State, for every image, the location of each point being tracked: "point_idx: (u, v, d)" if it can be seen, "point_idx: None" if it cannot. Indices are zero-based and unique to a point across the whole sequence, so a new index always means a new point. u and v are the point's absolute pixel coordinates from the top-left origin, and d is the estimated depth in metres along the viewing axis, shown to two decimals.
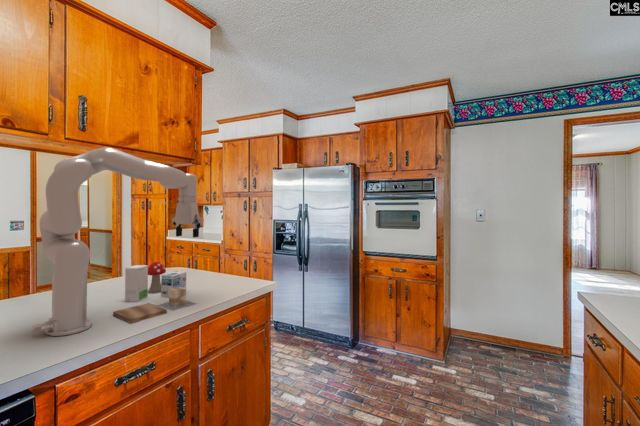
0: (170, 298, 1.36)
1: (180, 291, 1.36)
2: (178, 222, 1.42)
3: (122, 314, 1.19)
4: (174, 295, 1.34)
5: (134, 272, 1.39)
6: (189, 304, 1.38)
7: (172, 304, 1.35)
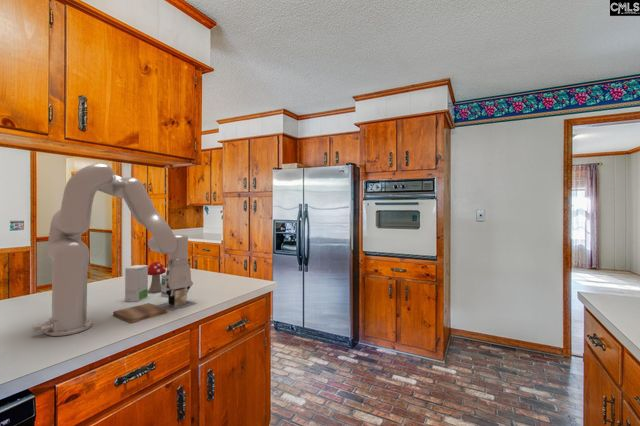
0: None
1: (180, 291, 1.36)
2: (175, 287, 1.33)
3: (122, 314, 1.19)
4: (174, 295, 1.34)
5: (133, 272, 1.39)
6: (189, 304, 1.38)
7: None
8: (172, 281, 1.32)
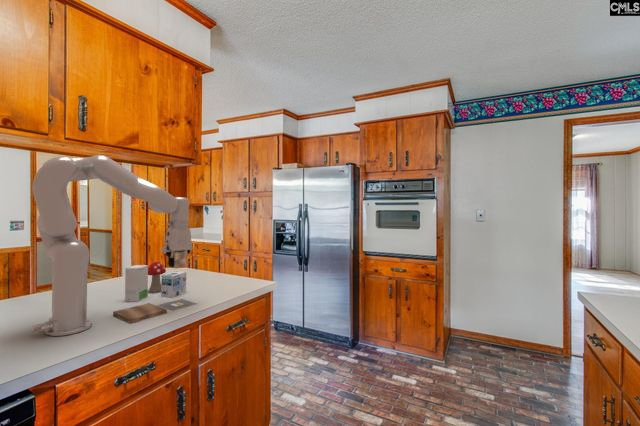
0: None
1: (180, 253, 1.35)
2: (175, 249, 1.33)
3: (122, 314, 1.19)
4: (174, 257, 1.34)
5: (134, 272, 1.39)
6: (189, 304, 1.38)
7: None
8: (172, 242, 1.32)
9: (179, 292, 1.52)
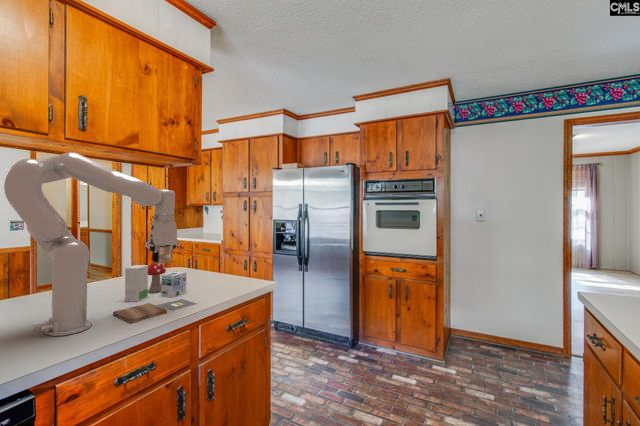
0: None
1: (165, 248, 1.29)
2: (160, 243, 1.27)
3: (122, 314, 1.19)
4: (158, 252, 1.28)
5: (134, 272, 1.39)
6: (189, 304, 1.38)
7: None
8: (156, 236, 1.26)
9: (179, 292, 1.52)
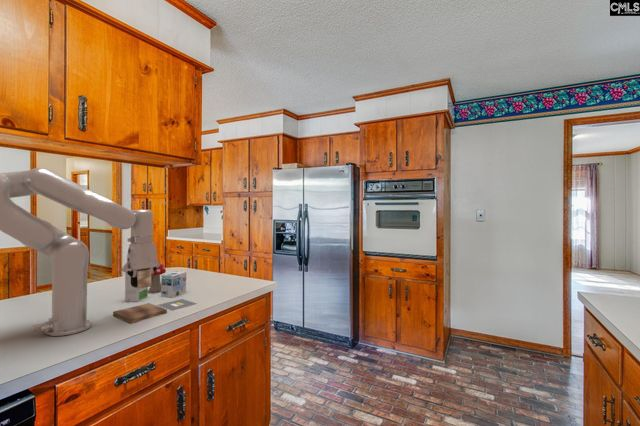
0: None
1: (144, 272, 1.22)
2: (138, 267, 1.20)
3: (122, 314, 1.19)
4: (137, 276, 1.21)
5: None
6: (189, 304, 1.38)
7: None
8: (134, 260, 1.19)
9: (179, 292, 1.52)
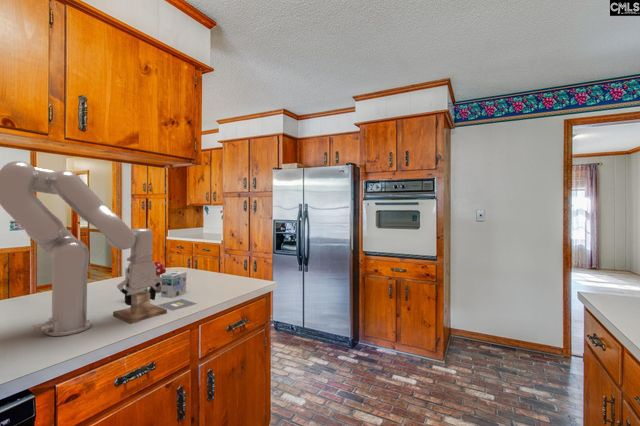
0: (132, 304, 1.22)
1: (143, 296, 1.22)
2: (137, 287, 1.20)
3: (122, 314, 1.19)
4: (136, 300, 1.21)
5: None
6: (189, 304, 1.38)
7: (134, 310, 1.22)
8: (133, 280, 1.19)
9: (179, 292, 1.52)
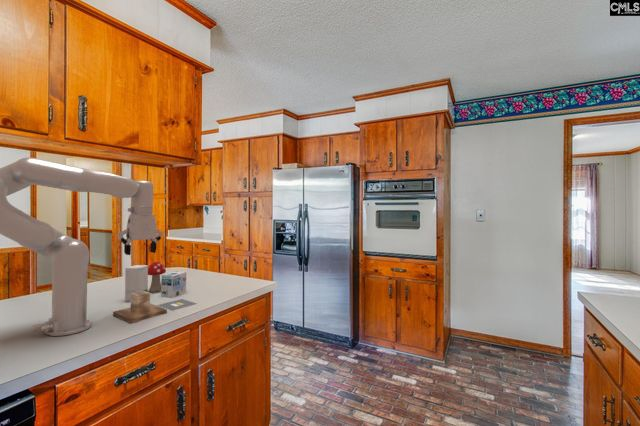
0: (132, 304, 1.22)
1: (143, 296, 1.22)
2: (137, 237, 1.21)
3: (122, 314, 1.19)
4: (136, 300, 1.21)
5: (134, 272, 1.39)
6: (189, 304, 1.38)
7: (134, 310, 1.22)
8: (133, 230, 1.20)
9: (179, 292, 1.52)
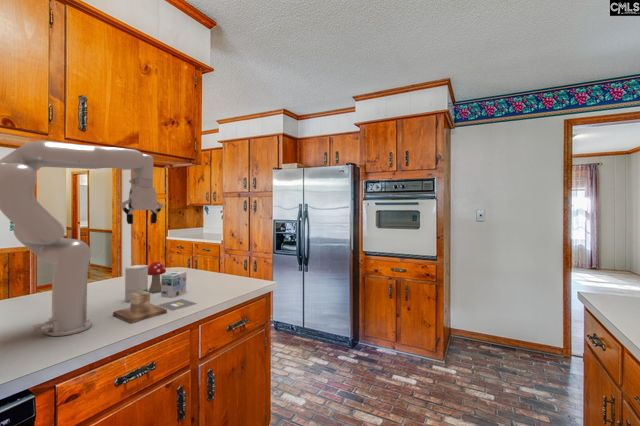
0: (132, 304, 1.22)
1: (143, 296, 1.22)
2: (139, 208, 1.27)
3: (122, 314, 1.19)
4: (136, 300, 1.21)
5: (134, 272, 1.39)
6: (189, 304, 1.38)
7: (134, 310, 1.22)
8: (135, 200, 1.26)
9: (179, 292, 1.52)
